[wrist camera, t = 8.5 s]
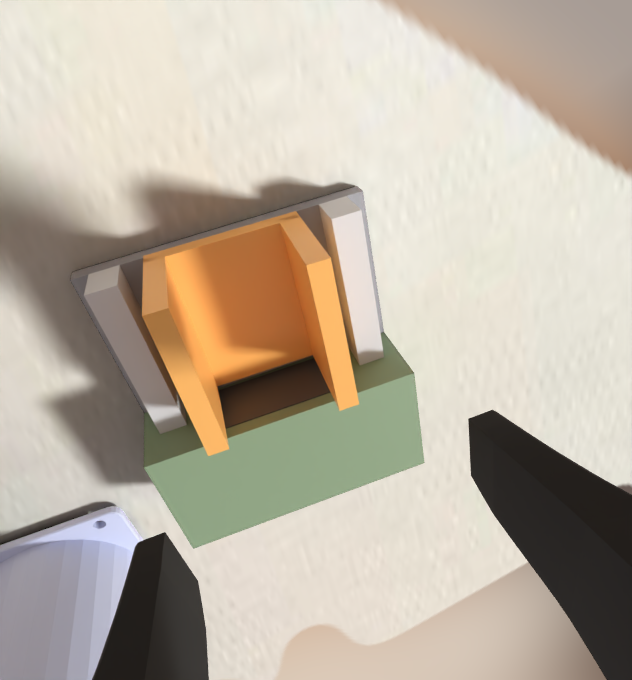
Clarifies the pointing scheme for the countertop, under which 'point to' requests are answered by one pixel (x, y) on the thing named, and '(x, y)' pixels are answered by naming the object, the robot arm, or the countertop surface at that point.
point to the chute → (244, 314)
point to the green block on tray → (268, 394)
